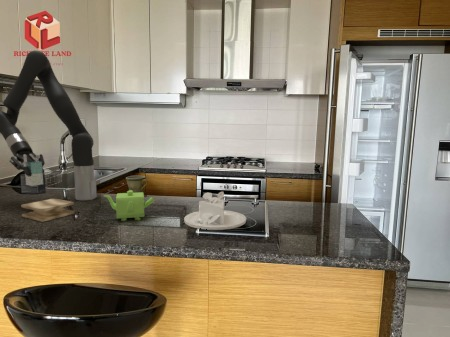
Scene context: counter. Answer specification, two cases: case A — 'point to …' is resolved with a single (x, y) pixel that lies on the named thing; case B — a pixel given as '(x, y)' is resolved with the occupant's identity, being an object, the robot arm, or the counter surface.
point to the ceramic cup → (136, 183)
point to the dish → (214, 215)
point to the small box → (32, 189)
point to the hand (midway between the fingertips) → (36, 174)
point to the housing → (34, 173)
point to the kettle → (129, 205)
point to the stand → (47, 209)
